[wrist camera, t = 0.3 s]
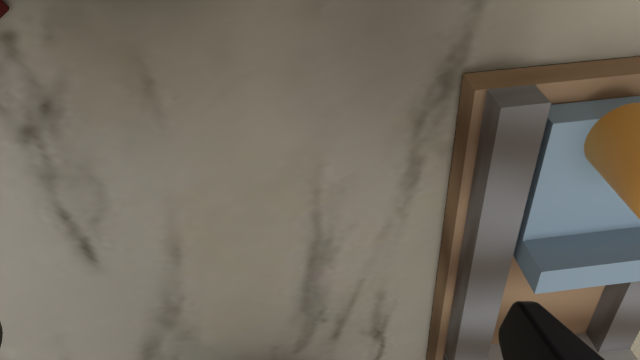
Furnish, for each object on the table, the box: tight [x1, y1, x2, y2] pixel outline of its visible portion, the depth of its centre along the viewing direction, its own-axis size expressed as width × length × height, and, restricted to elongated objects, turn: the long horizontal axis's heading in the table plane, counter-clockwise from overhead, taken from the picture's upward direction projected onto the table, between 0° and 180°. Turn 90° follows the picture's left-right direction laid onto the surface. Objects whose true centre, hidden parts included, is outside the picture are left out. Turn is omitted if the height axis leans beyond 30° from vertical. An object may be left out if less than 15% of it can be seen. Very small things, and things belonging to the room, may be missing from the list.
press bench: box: [426, 56, 640, 360], centre depth 28 cm, size 22×12×6 cm, turn 3°
